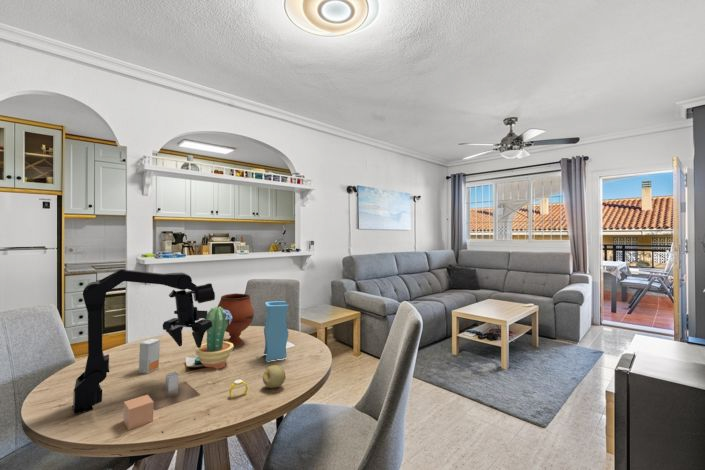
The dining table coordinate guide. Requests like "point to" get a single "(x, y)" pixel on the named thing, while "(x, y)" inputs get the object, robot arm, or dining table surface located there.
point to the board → (163, 401)
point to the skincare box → (149, 356)
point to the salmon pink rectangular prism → (138, 411)
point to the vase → (276, 330)
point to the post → (171, 384)
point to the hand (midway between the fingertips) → (189, 346)
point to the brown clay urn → (237, 315)
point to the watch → (237, 384)
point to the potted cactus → (216, 340)
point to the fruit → (274, 376)
